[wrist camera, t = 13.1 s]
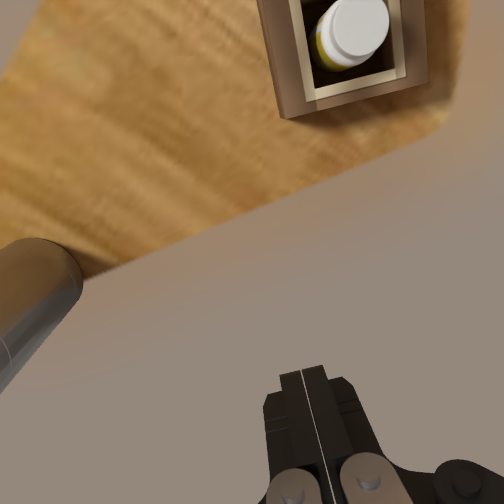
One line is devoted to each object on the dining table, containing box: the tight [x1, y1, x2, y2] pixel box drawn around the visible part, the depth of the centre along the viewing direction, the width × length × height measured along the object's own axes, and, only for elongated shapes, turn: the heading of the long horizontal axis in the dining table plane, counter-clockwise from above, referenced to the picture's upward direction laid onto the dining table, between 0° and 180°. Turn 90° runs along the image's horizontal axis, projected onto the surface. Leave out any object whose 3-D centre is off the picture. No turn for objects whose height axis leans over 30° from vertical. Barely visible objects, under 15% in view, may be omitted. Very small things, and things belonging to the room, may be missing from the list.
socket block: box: [257, 0, 429, 119], centre depth 32 cm, size 12×10×5 cm
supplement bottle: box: [308, 0, 389, 73], centre depth 30 cm, size 5×5×8 cm
